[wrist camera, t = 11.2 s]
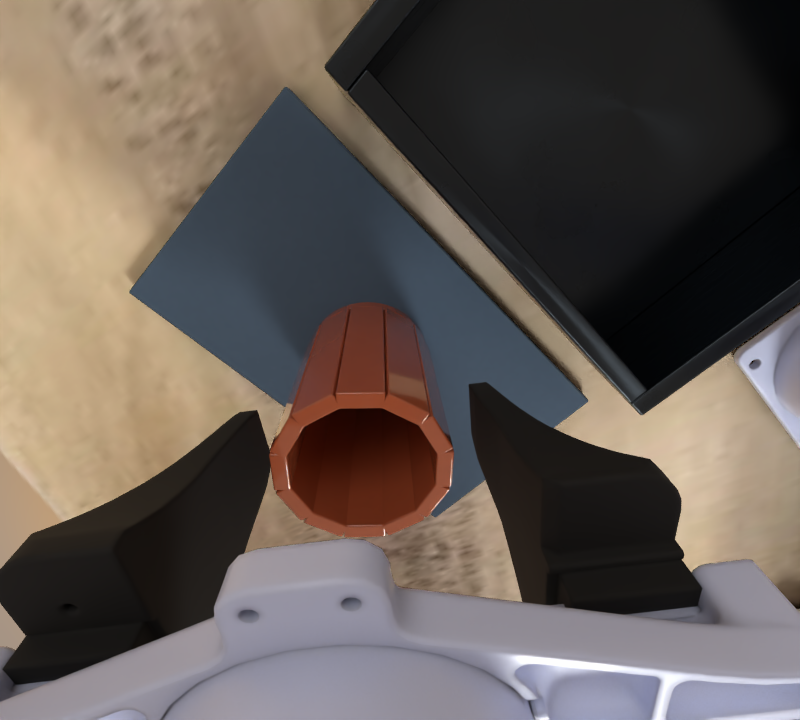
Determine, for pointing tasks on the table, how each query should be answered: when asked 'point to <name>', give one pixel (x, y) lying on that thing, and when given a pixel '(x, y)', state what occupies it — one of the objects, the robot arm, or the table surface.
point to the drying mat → (335, 278)
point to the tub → (606, 160)
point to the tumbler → (364, 427)
